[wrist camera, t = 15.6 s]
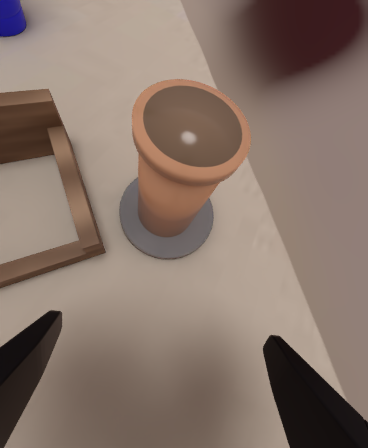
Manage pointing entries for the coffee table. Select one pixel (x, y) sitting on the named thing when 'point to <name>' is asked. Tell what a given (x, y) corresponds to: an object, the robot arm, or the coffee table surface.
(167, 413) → the coffee table surface
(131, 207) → the saucer
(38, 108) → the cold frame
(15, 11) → the hyacinth
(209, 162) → the pot
